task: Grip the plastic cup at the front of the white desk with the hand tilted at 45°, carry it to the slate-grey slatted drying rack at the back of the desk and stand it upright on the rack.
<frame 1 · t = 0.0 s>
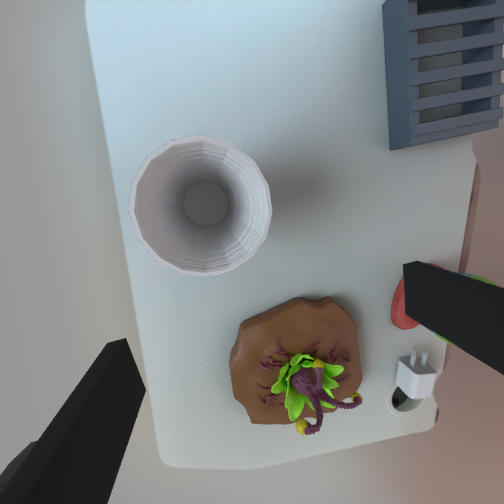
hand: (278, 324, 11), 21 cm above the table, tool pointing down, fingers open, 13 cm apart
stacking bear: (419, 292, 38), on the table
plastic cup: (207, 205, 30), on the table
usb wall charger: (405, 361, 41), on the table
dish rack: (429, 75, 31), on the table
plant: (292, 358, 37), on the table
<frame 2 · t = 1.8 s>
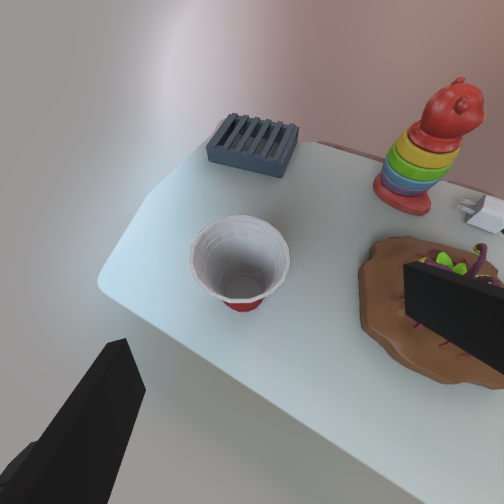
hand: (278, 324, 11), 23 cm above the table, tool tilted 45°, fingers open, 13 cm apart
stacking bear: (399, 191, 46), on the table
plastic cup: (245, 294, 36), on the table
usb wall charger: (471, 219, 42), on the table
dish rack: (254, 151, 52), on the table
plant: (426, 306, 34), on the table
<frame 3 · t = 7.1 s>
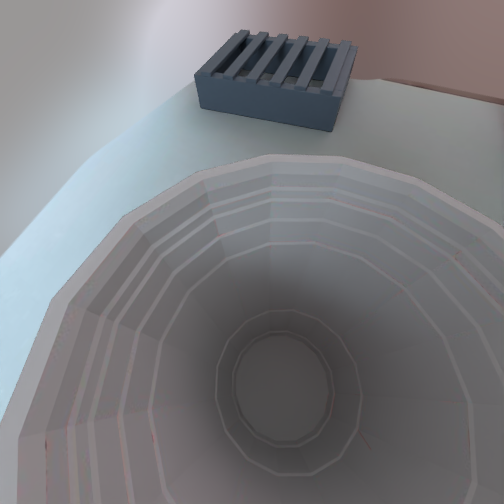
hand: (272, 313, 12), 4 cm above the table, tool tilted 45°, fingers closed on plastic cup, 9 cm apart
plastic cup: (284, 384, 14), on the table, touching gripper
dish rack: (277, 93, 31), on the table
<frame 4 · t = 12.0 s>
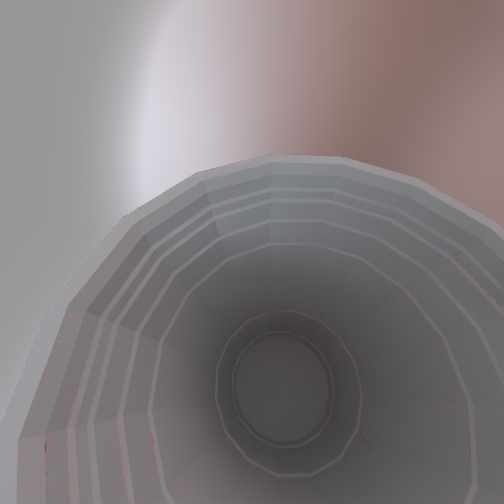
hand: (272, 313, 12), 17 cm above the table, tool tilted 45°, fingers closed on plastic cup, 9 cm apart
plastic cup: (285, 384, 14), point 13 cm above the table, touching gripper
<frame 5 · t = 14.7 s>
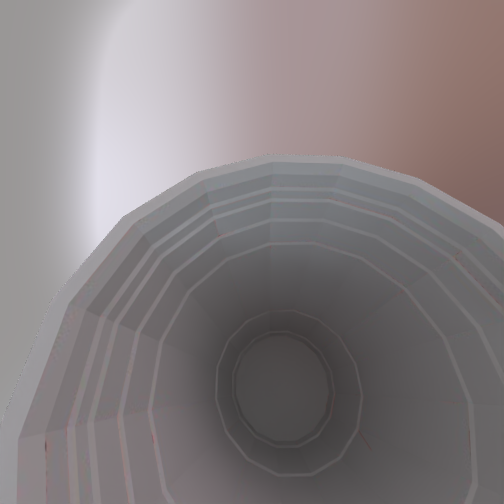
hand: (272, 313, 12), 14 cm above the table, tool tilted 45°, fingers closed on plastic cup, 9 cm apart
plastic cup: (285, 384, 14), point 10 cm above the table, touching gripper
when the fingers open (8 cm above the table, at t = 16.9 s): plastic cup stays where it is, resting on dish rack.
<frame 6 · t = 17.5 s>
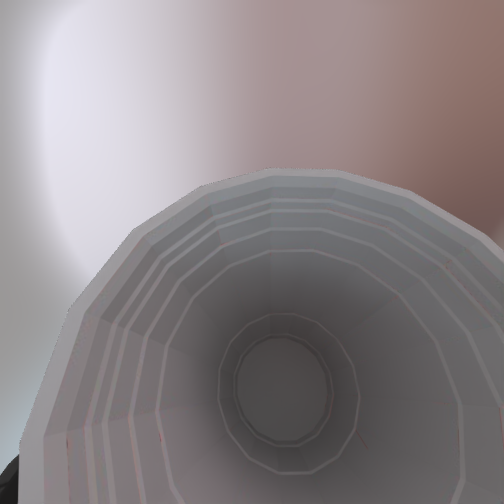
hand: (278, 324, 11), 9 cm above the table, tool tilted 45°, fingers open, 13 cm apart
plastic cup: (285, 385, 15), point 4 cm above the table, touching dish rack
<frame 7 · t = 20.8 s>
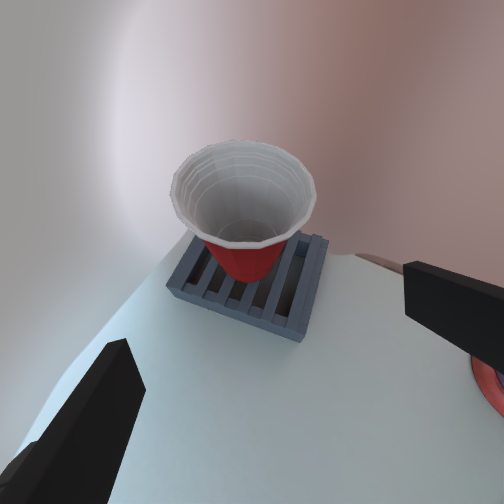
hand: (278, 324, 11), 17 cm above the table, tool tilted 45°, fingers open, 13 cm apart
plastic cup: (250, 261, 28), point 4 cm above the table, touching dish rack
dish rack: (251, 275, 31), on the table
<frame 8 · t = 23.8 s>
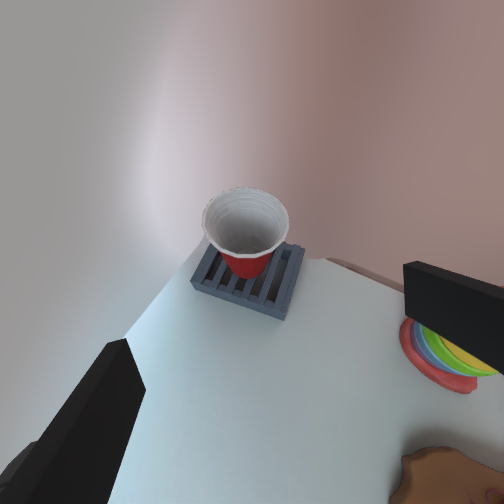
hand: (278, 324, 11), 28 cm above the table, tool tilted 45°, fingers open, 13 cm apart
stacking bear: (432, 345, 36), on the table
plastic cup: (249, 264, 40), point 4 cm above the table, touching dish rack
dish rack: (250, 273, 43), on the table
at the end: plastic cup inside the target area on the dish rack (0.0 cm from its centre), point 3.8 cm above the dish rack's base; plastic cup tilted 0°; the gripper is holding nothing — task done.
